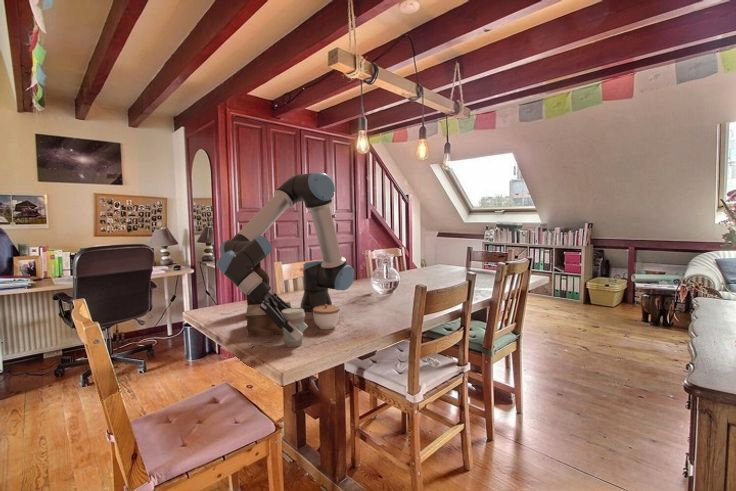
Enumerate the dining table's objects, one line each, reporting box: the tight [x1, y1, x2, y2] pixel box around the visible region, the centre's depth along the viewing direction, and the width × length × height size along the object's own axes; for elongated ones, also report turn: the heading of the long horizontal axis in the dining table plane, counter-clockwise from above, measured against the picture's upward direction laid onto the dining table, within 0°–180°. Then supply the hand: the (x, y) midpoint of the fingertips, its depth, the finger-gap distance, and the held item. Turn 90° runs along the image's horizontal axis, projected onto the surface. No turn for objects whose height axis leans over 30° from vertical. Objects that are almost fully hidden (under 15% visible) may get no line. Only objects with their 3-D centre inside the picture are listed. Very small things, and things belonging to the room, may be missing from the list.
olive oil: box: [246, 261, 270, 307], centre depth 165 cm, size 11×11×25 cm
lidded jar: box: [312, 304, 341, 330], centre depth 143 cm, size 11×11×9 cm
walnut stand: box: [244, 301, 292, 338], centre depth 142 cm, size 17×17×8 cm
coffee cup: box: [281, 307, 306, 348], centre depth 124 cm, size 8×8×12 cm
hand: (302, 333), depth 124 cm, fingers closed on coffee cup, 8 cm apart
